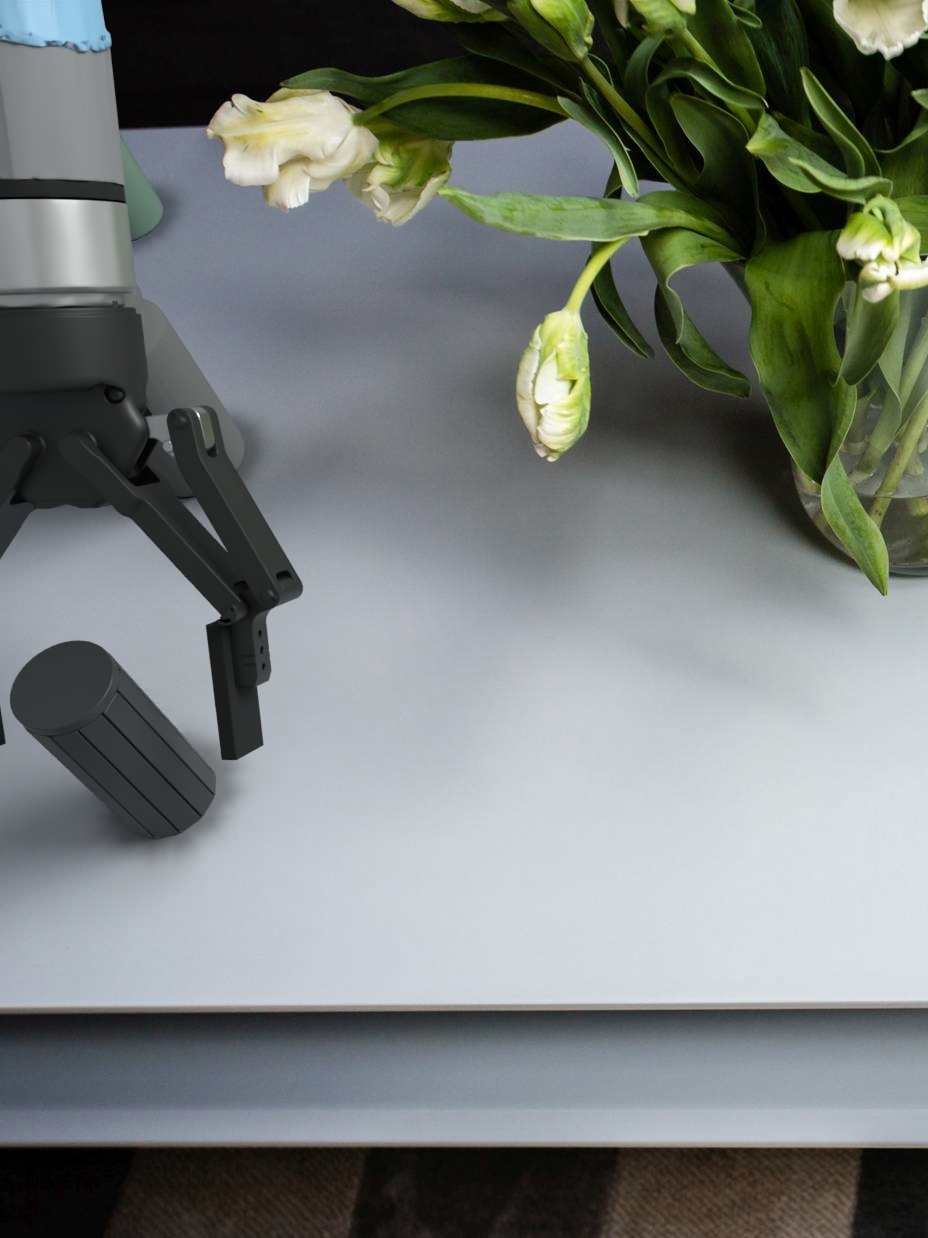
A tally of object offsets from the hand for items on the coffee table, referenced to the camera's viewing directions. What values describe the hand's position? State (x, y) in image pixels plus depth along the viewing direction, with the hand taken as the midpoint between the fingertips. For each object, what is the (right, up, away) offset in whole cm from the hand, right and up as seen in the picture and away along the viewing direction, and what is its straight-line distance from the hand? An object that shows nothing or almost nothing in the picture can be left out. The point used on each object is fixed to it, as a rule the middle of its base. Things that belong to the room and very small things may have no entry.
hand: (111, 752), depth 79 cm
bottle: (-3, +17, +18) cm, 25 cm away
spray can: (-12, +35, +30) cm, 48 cm away
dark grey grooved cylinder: (+1, -2, +6) cm, 6 cm away
